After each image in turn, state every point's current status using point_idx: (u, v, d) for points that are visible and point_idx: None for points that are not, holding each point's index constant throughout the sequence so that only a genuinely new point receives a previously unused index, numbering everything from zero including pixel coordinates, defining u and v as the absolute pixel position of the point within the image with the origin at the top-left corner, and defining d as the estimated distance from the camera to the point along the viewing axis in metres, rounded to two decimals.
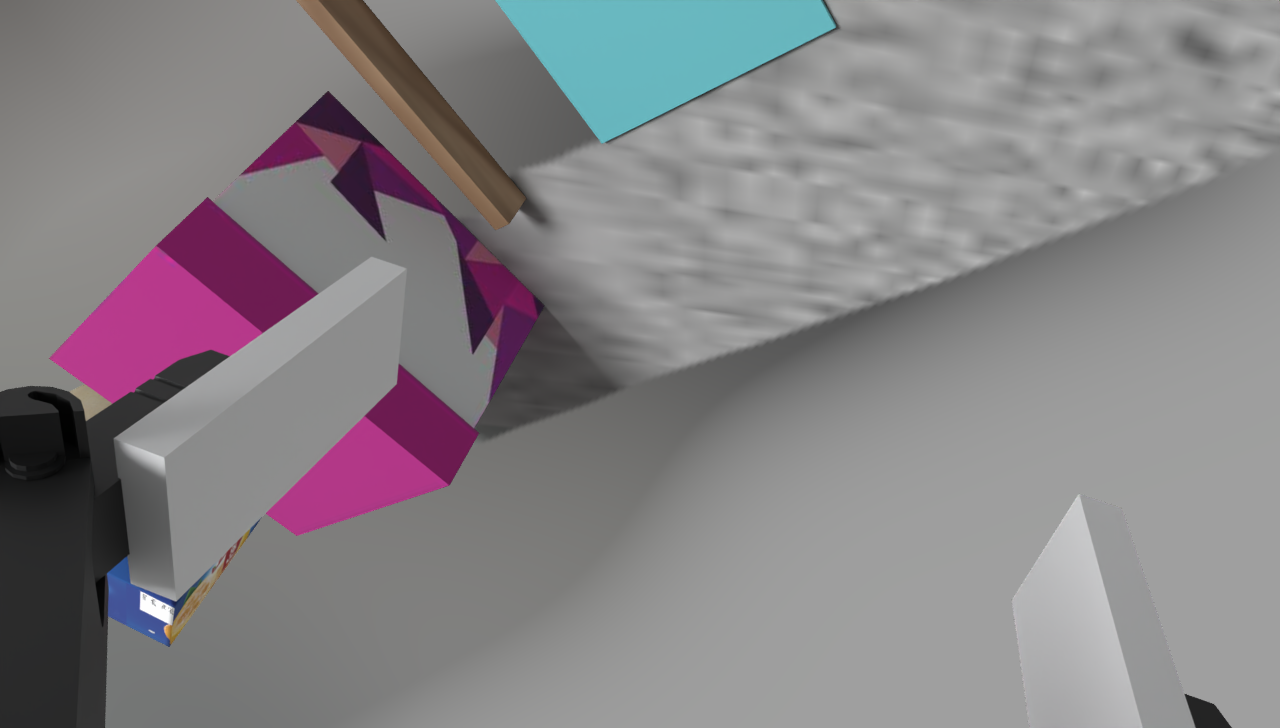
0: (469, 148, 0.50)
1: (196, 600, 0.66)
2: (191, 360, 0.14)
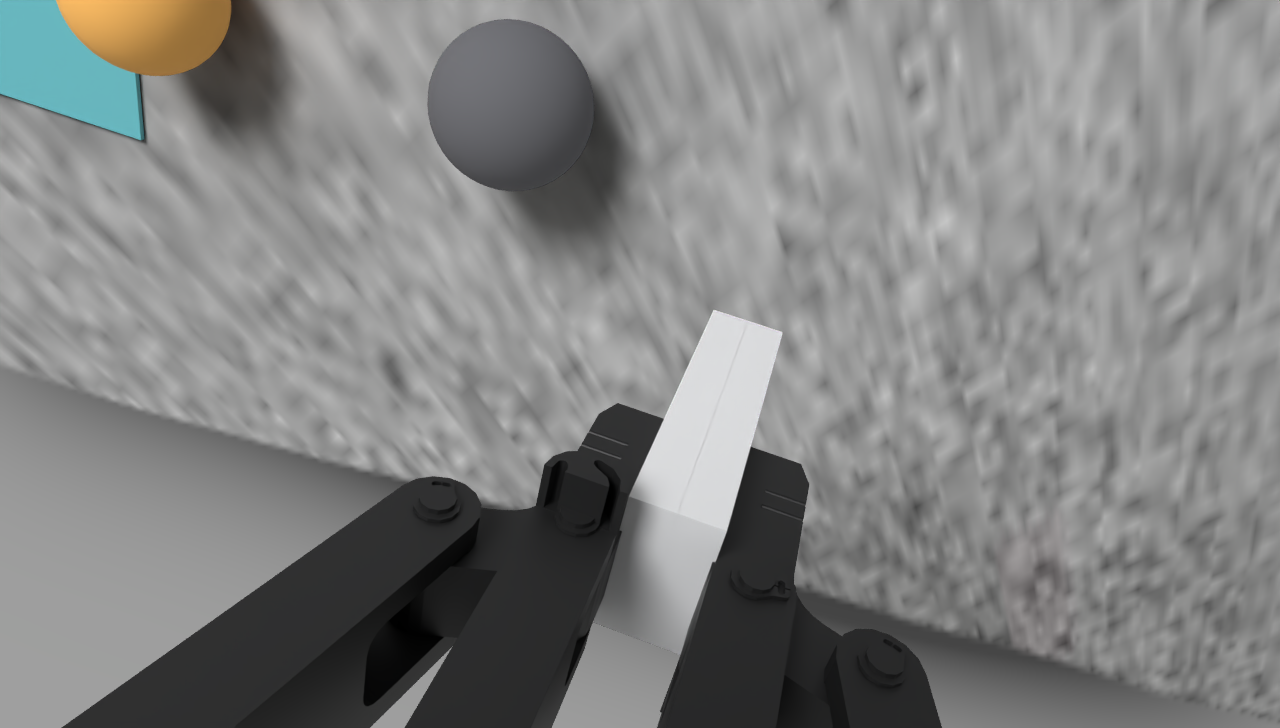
0: None
1: None
2: (610, 415, 0.16)
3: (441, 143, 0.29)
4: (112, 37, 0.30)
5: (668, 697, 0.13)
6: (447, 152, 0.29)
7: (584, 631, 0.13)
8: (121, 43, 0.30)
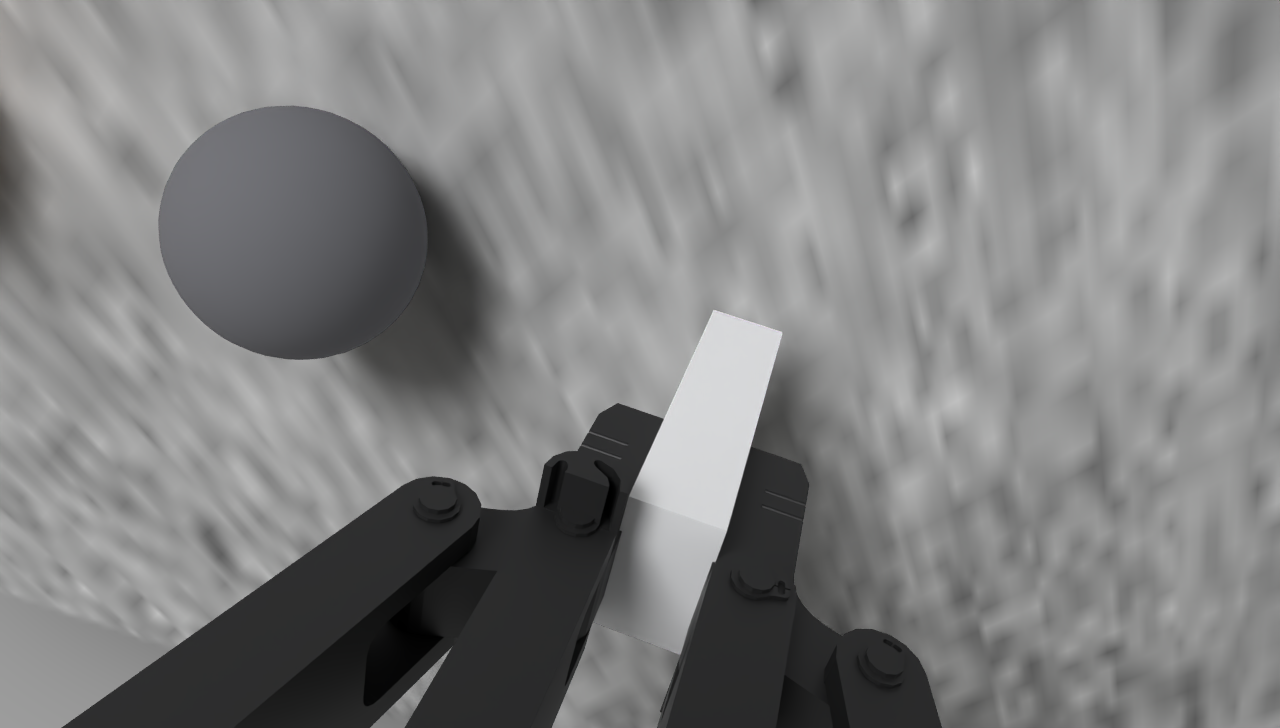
0: None
1: None
2: (609, 414, 0.16)
3: (181, 296, 0.19)
4: None
5: (668, 697, 0.13)
6: None
7: (584, 631, 0.13)
8: None
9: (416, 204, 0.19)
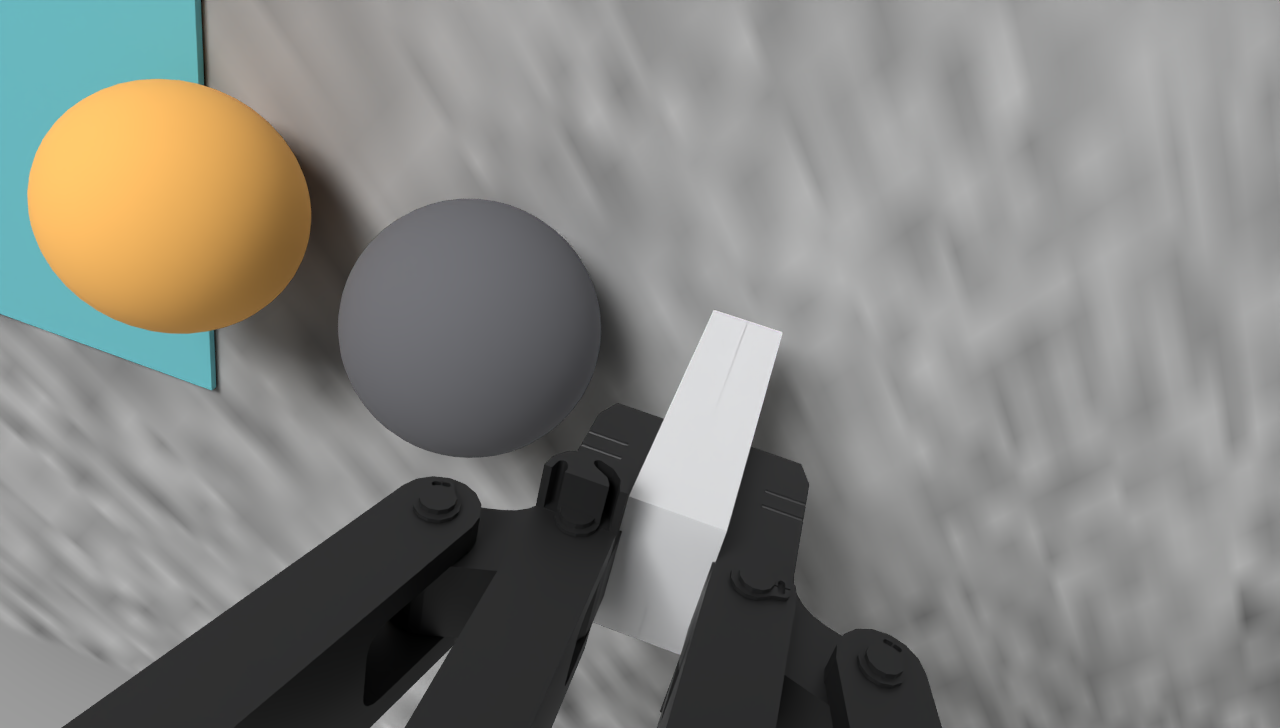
0: None
1: None
2: (609, 415, 0.16)
3: None
4: (62, 277, 0.18)
5: (668, 697, 0.13)
6: None
7: (584, 630, 0.13)
8: (74, 288, 0.18)
9: (352, 289, 0.17)
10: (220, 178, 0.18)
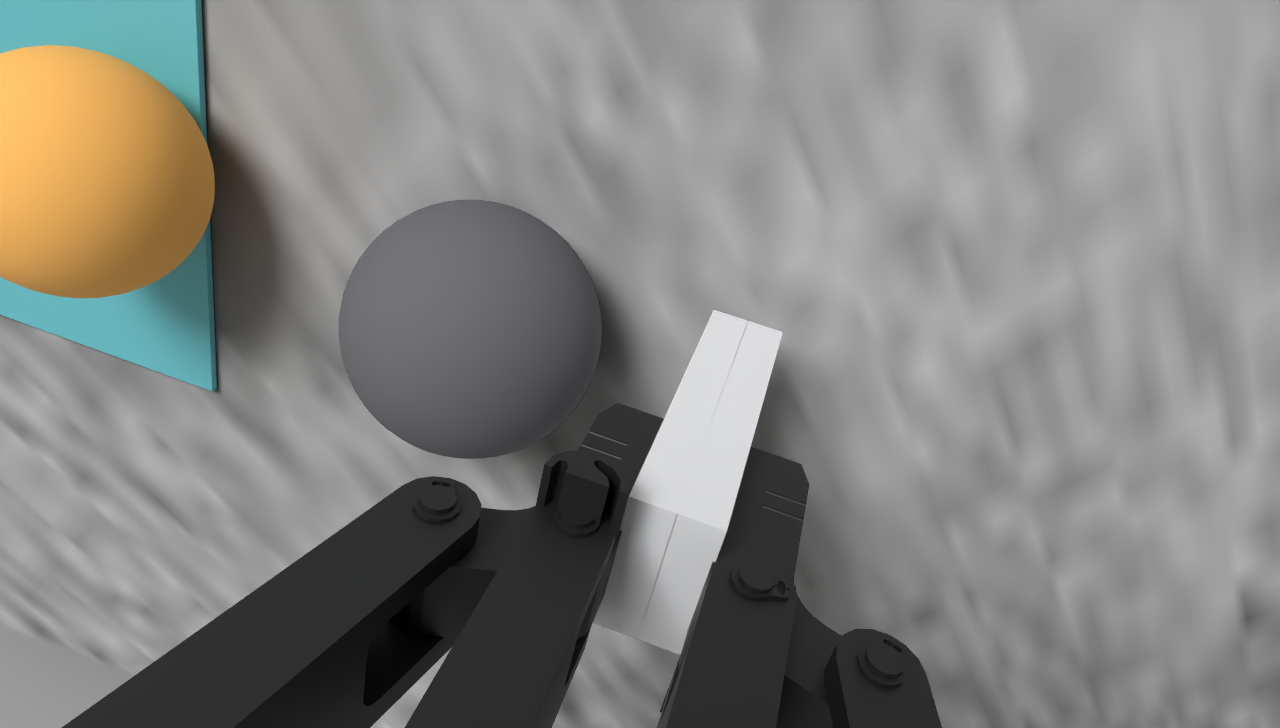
0: None
1: None
2: (609, 414, 0.16)
3: None
4: None
5: (668, 697, 0.13)
6: None
7: (584, 631, 0.13)
8: None
9: (353, 290, 0.17)
10: None
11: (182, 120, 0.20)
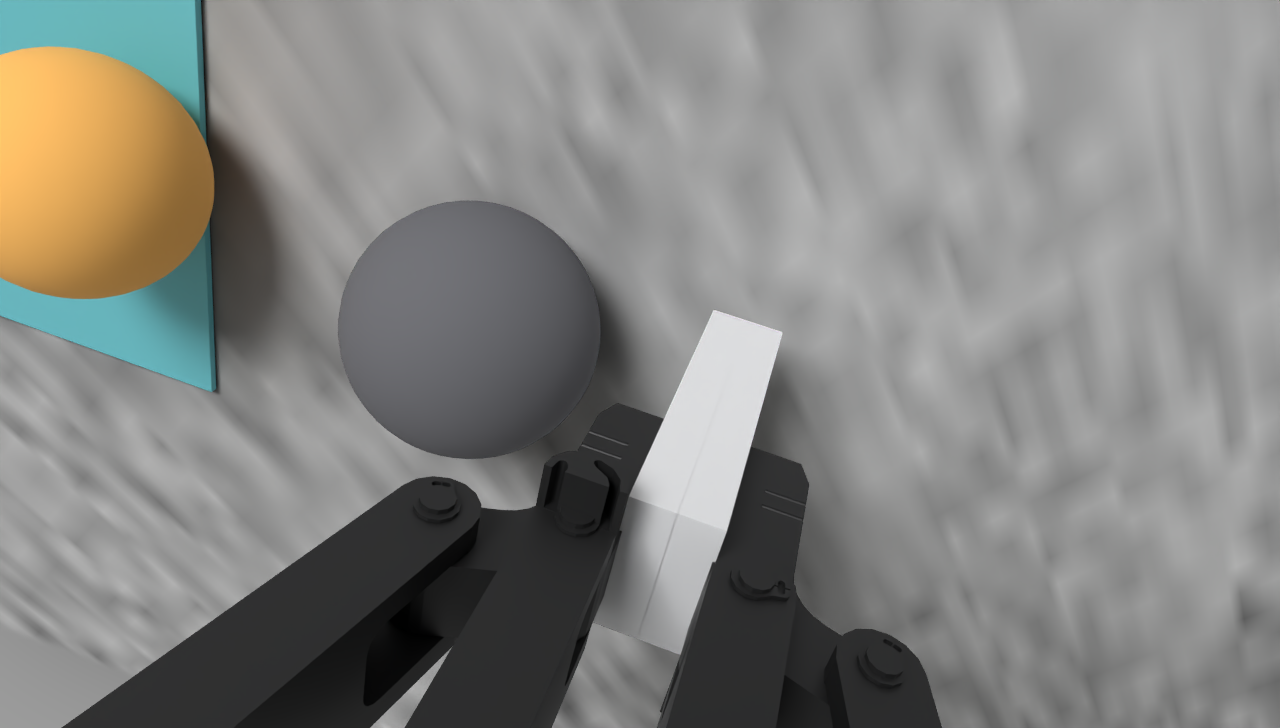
0: None
1: None
2: (609, 415, 0.16)
3: None
4: None
5: (668, 697, 0.13)
6: None
7: (584, 631, 0.13)
8: None
9: (352, 290, 0.17)
10: None
11: (182, 121, 0.20)
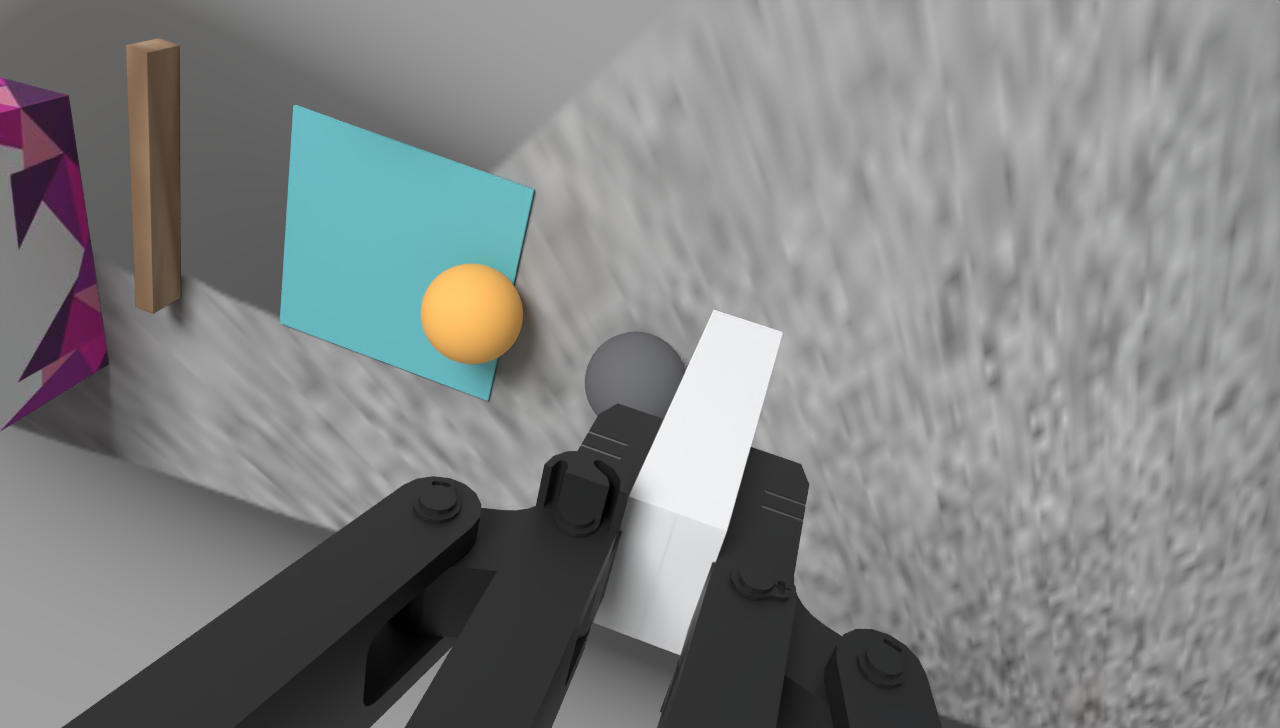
0: (169, 240, 0.53)
1: None
2: (610, 414, 0.16)
3: None
4: None
5: (668, 697, 0.13)
6: None
7: (584, 631, 0.13)
8: None
9: (598, 368, 0.46)
10: (466, 305, 0.46)
11: (518, 294, 0.48)
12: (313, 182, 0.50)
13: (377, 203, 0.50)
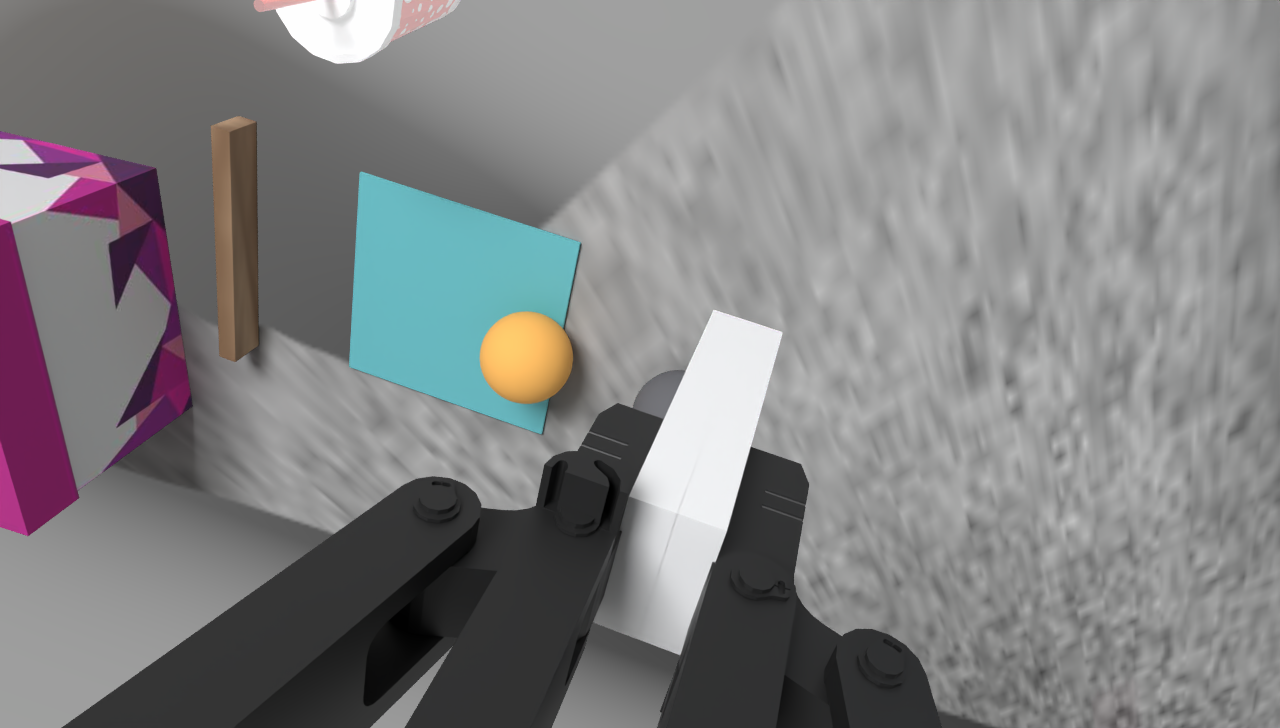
0: (248, 295, 0.58)
1: None
2: (609, 415, 0.16)
3: None
4: None
5: (668, 697, 0.13)
6: None
7: (584, 631, 0.13)
8: None
9: (644, 406, 0.50)
10: (521, 352, 0.50)
11: (567, 338, 0.52)
12: (378, 240, 0.55)
13: (437, 257, 0.54)
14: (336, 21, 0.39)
